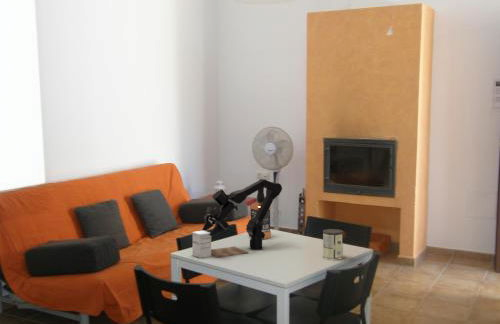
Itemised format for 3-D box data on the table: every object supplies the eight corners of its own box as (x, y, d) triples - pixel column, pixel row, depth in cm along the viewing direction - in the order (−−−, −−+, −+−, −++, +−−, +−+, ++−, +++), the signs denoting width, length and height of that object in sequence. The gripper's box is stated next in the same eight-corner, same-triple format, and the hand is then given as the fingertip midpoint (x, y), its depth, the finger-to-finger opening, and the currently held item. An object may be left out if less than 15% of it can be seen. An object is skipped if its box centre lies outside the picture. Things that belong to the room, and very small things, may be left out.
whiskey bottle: (261, 235, 334) (261, 183, 332) (272, 237, 326) (272, 185, 324) (248, 237, 327) (248, 184, 325) (259, 240, 320) (259, 186, 317)
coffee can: (327, 254, 288) (327, 228, 287) (345, 256, 283) (346, 230, 282) (319, 258, 279) (319, 231, 278) (338, 261, 274) (338, 233, 273)
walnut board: (234, 247, 302) (234, 246, 301) (248, 253, 289) (248, 252, 289) (204, 251, 292) (204, 250, 292) (216, 257, 279) (216, 256, 279)
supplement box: (192, 255, 283) (191, 231, 282) (204, 253, 288) (204, 230, 287) (199, 258, 277) (199, 234, 276) (211, 256, 282) (211, 232, 281)
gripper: (207, 198, 292) (188, 220, 288) (223, 203, 276) (204, 226, 272) (220, 212, 297) (202, 234, 292) (237, 217, 281) (217, 240, 276)
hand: (206, 233), depth 283 cm, fingers open, 9 cm apart
